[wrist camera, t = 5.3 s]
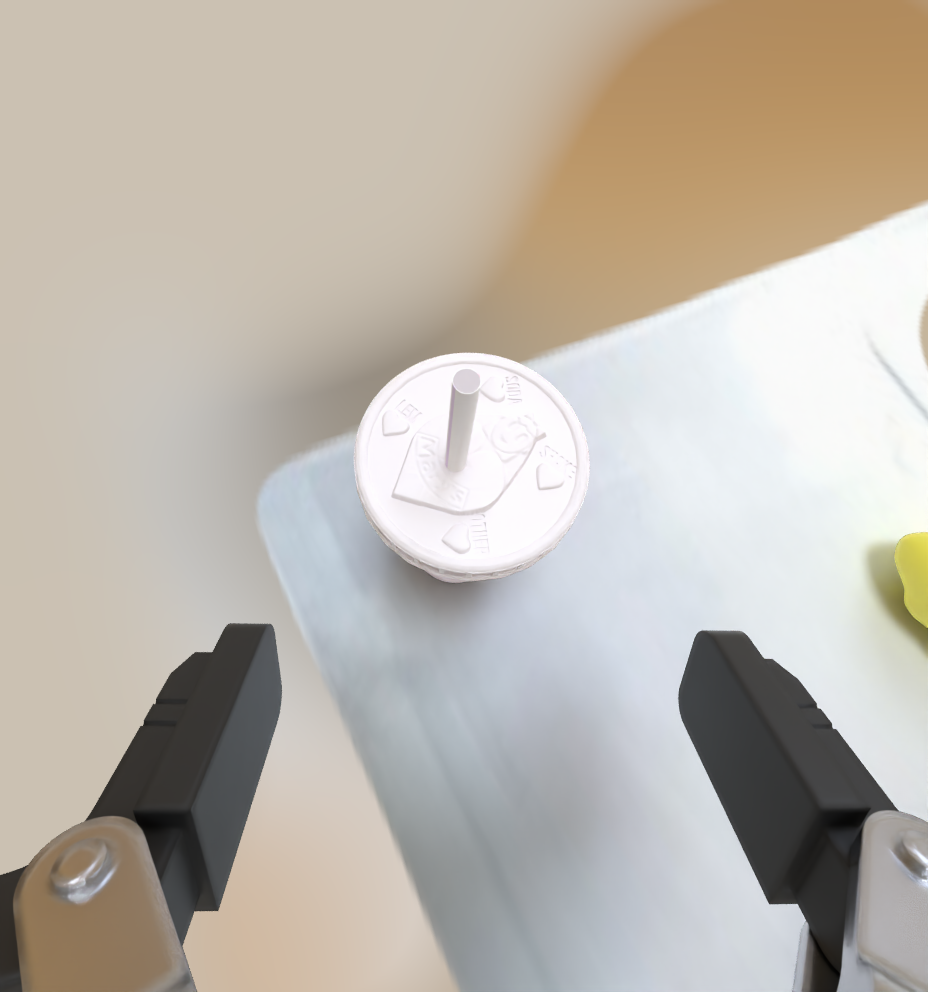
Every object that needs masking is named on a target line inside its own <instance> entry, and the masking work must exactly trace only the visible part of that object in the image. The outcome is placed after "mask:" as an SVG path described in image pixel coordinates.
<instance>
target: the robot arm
mask: <svg viewBox="0 0 928 992" xmlns="http://www.w3.org/2000/svg"><path fill="white" fill-rule="evenodd" d="M281 696H282V685H281V677H280V669H279V662H278V654H277V646H276V639H275V632H274V628H273V626H272V625H271V624H235V623H233V624H231V623H230V624H228V625H227V626H226V627H225V629H224V631H223V632H222V634H221V637H220V639H219V640H218V642H217V644H216V646H215V648H214V650H213V652H195V653H194V654H192V655H191V656H190V657H189V658H188V659H187V660H186V661H185V662H183V663H182V664H181V665H180V666H179V667H178V668H177V669H175V670H174V671H173V672H172V673H171V674H170V676H169V677H168V679H167V681H166V683H165V684H164V686H163V688H162V690H161V692H160V693H159V695H158V697H157V699H156V704H153V706H152V707H151V709H150V711H149V712H148V714H147V716H146V718H145V720H144V725H143V726H140V728H139V730H138V732H137V733H136V735H135V737H134V739H133V740H132V742H131V744H130V746H129V747H128V749H127V751H126V753H125V754H124V756H123V758H122V759H121V761H120V763H119V765H118V766H117V768H116V770H115V772H114V774H113V775H112V777H111V779H110V781H109V782H108V784H107V786H106V787H105V789H104V791H103V793H102V795H101V796H100V798H99V800H98V802H97V803H96V805H95V807H94V808H93V810H92V812H91V813H90V815H89V816H88V818H87V819H86V820H85V821H84V822H82V823H80V824H78V825H75V826H74V827H72V828H70V829H68V830H66V831H64V832H63V833H61V834H60V835H58V836H57V837H56V838H54V839H53V840H52V841H51V842H50V843H48V844H47V845H46V846H45V847H44V848H42V849H41V850H40V852H39V853H38V854H37V855H36V856H35V857H34V858H33V859H32V861H31V862H30V863H29V865H27V866H25V867H23V868H20V869H17V870H15V871H12V872H9V873H6V874H3V875H0V992H197V990H196V987H195V984H194V980H193V977H192V974H191V971H190V968H189V965H188V962H187V959H186V956H185V953H184V950H183V947H182V945H183V943H184V940H185V937H186V934H187V931H188V928H189V925H190V922H191V919H192V917H193V913H194V911H218V910H219V907H220V904H221V900H222V897H223V894H224V891H225V887H226V884H227V881H228V878H229V875H230V872H231V868H232V865H233V862H234V859H235V856H236V852H237V849H238V846H239V843H240V840H241V836H242V833H243V830H244V827H245V824H246V820H247V817H248V814H249V811H250V807H251V804H252V801H253V798H254V795H255V792H256V788H257V785H258V782H259V779H260V776H261V772H262V769H263V766H264V763H265V760H266V756H267V753H268V750H269V747H270V743H271V740H272V737H273V734H274V731H275V727H276V724H277V721H278V717H279V713H280V706H281V698H282V697H281ZM678 700H679V710H680V714H681V718H682V721H683V723H684V725H685V728H686V730H687V732H688V734H689V736H690V738H691V740H692V742H693V744H694V747H695V749H696V751H697V753H698V755H699V757H700V759H701V761H702V763H703V766H704V768H705V770H706V772H707V774H708V776H709V778H710V780H711V782H712V785H713V787H714V789H715V791H716V793H717V795H718V797H719V799H720V801H721V804H722V806H723V808H724V810H725V812H726V814H727V816H728V818H729V820H730V823H731V825H732V827H733V829H734V831H735V833H736V835H737V837H738V839H739V842H740V844H741V846H742V848H743V850H744V852H745V854H746V856H747V858H748V861H749V863H750V865H751V867H752V869H753V871H754V873H755V875H756V877H757V879H758V882H759V884H760V886H761V888H762V890H763V892H764V894H765V896H766V898H767V901H768V903H769V904H798V905H799V907H800V909H801V911H802V913H803V915H804V917H805V919H806V921H805V923H804V925H803V927H802V929H801V933H800V939H799V947H798V954H797V961H796V968H795V976H794V983H793V990H792V992H928V822H926V821H924V820H922V819H920V818H917V817H915V816H913V815H910V814H907V813H903V812H899V811H898V810H897V808H896V807H895V806H894V805H893V803H892V802H891V801H890V799H889V798H888V797H887V795H886V794H885V793H884V791H883V790H882V789H881V788H880V786H879V785H878V784H877V782H876V781H875V780H874V778H873V777H872V776H871V774H870V773H869V772H868V770H867V769H866V768H865V766H864V765H863V764H862V763H861V761H860V760H859V759H858V757H857V756H856V755H855V753H854V752H853V751H852V749H851V748H850V747H849V745H848V744H847V743H846V741H845V740H844V739H843V738H842V736H841V735H840V734H839V732H838V731H837V730H836V729H833V728H832V723H831V722H830V720H829V719H828V718H827V717H826V715H825V714H824V713H823V711H822V710H821V709H818V708H817V703H816V702H815V701H814V699H813V698H812V697H811V695H810V694H809V693H808V692H807V690H806V689H805V688H804V686H803V685H802V684H801V682H800V681H799V680H798V679H797V678H796V677H794V676H793V675H792V674H791V673H789V672H788V671H787V670H785V669H784V668H783V667H782V666H780V665H779V664H778V663H777V662H775V661H774V660H773V659H764V658H763V657H762V655H761V654H760V652H759V651H758V650H757V648H756V647H755V646H754V644H753V643H752V641H751V640H750V639H749V637H748V636H747V635H746V634H745V633H743V632H741V631H700V632H698V633H697V635H696V637H695V639H694V642H693V645H692V649H691V652H690V655H689V658H688V662H687V665H686V668H685V671H684V675H683V678H682V681H681V685H680V688H679V697H678Z"/></svg>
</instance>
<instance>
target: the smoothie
mask: <svg viewBox="0 0 928 992" xmlns="http://www.w3.org/2000/svg"><path fill="white" fill-rule="evenodd" d="M354 470H355V478H356V482H357V492H358V495H359V498H360V500H361V503H362V506H363V509H364V512H365V514H366V517H367V519H368V521H369V522H370V524H371V525H372V526H373V528H374V529H375V531H376V532H377V533H378V535H379V536H380V538H381V539H382V541H383V542H384V543H385V544H386V545H387V546H388V547H389V548H391V549H392V550H393V551H394V552H396V553H397V554H398V555H399V556H401V557H402V558H403V559H404V560H405V561H407V562H408V563H409V564H411V565H414V566H416V567H418V568H420V569H423V570H425V571H426V572H427V573H428V574H430V575H431V576H433V577H434V578H436V579H438V580H441V581H444V582H450V583H461V582H467V581H478V580H488V579H498V578H503V577H505V576H508V575H511V574H513V573H516V572H518V571H521V570H523V569H526V568H529V567H531V566H532V565H533V564H535V563H536V562H537V561H539V560H540V559H541V558H543V557H544V556H545V555H547V554H548V553H549V552H551V551H552V550H553V549H555V547H556V546H557V545H558V543H559V542H560V541H561V539H562V538H563V537H564V535H565V534H566V533H567V531H568V530H569V529H570V527H571V526H572V524H573V522H574V520H575V519H576V517H577V515H578V513H579V511H580V509H581V507H582V504H583V502H584V499H585V495H586V492H587V488H588V482H589V473H590V459H589V451H588V445H587V441H586V437H585V434H584V431H583V428H582V426H581V423H580V421H579V419H578V417H577V415H576V414H575V412H574V410H573V408H572V407H571V405H570V404H569V403H568V401H567V400H566V399H565V397H564V396H563V395H562V394H561V393H560V392H559V391H558V390H557V389H556V388H555V387H554V386H553V385H552V384H551V383H550V382H548V381H547V380H546V379H545V378H543V377H542V376H541V375H539V374H538V373H536V372H535V371H533V370H531V369H529V368H527V367H526V366H524V365H521V364H519V363H517V362H515V361H512V360H509V359H505V358H503V357H498V356H494V355H489V354H482V353H456V354H448V355H443V356H438V357H435V358H431V359H428V360H425V361H423V362H420V363H418V364H416V365H414V366H412V367H410V368H408V369H407V370H405V371H403V372H402V373H400V374H399V375H398V376H396V377H395V378H394V379H392V380H391V381H390V382H389V383H388V384H387V385H386V386H385V387H384V388H383V389H382V390H381V391H380V392H379V393H378V394H377V395H376V397H375V398H374V400H373V401H372V402H371V404H370V405H369V407H368V409H367V411H366V412H365V415H364V417H363V419H362V421H361V423H360V427H359V430H358V433H357V437H356V442H355V450H354Z"/></svg>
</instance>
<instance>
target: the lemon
mask: <svg viewBox="0 0 928 992" xmlns="http://www.w3.org/2000/svg"><path fill="white" fill-rule="evenodd" d="M894 557H895V563H896V567H897V569H898V572H899V574H900V577H901V580H902V582H903V585H904V591H905V592H904V602H905V605H906V608H907V609H908V611H909V612H910V614H911V615H912V616H913V617H914V618H915V619H916V620H917V621H919V622H920V623H921V624H922V625H924V626H925V627H926V628H928V532H920V533H912V534H908V535H905V536H904V537H902V538H901V539H900V540H899V542H898V544H897V546H896V549H895V554H894Z"/></svg>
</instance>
